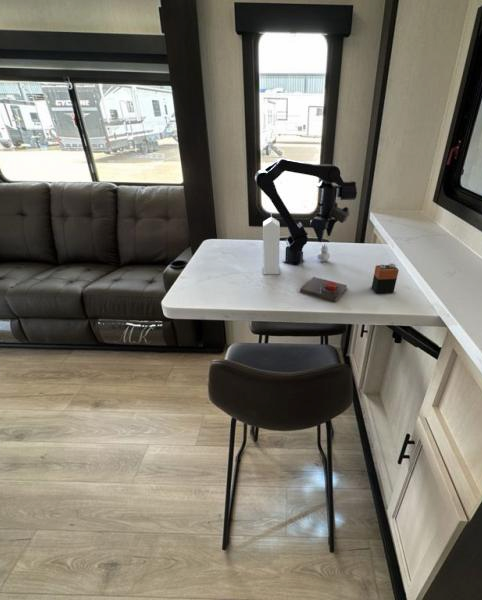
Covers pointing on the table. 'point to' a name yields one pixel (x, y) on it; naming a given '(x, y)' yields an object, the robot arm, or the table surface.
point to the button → (331, 285)
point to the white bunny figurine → (323, 254)
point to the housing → (322, 289)
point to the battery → (385, 278)
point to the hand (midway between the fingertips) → (324, 238)
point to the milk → (271, 245)
